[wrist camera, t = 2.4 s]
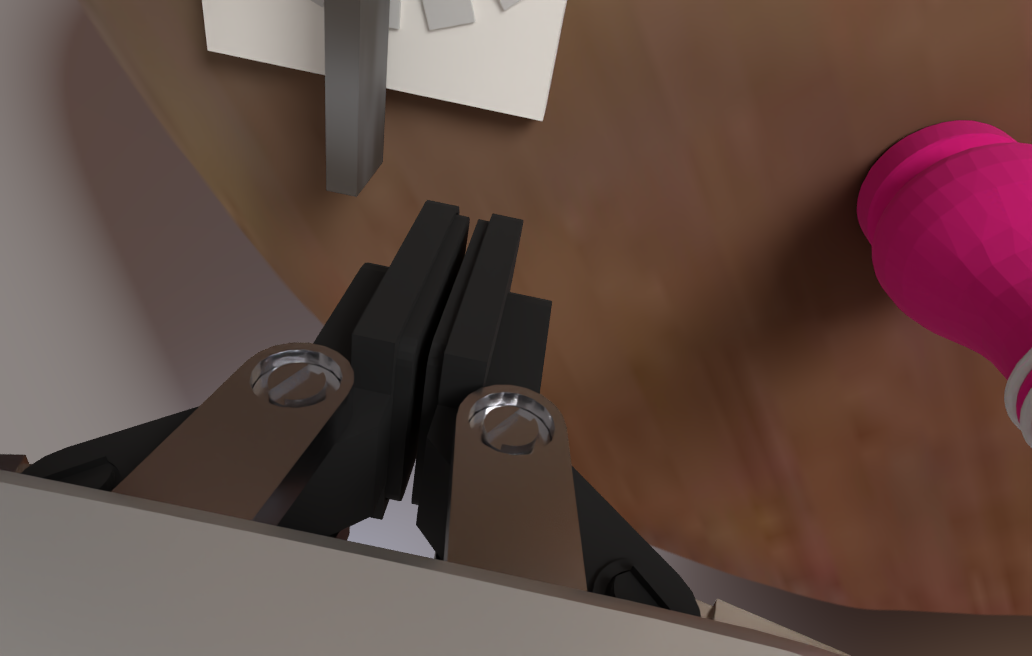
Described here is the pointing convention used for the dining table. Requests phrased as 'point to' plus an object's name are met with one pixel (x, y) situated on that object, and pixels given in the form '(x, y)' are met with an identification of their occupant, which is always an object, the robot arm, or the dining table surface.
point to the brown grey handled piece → (354, 91)
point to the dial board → (414, 45)
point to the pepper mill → (959, 243)
